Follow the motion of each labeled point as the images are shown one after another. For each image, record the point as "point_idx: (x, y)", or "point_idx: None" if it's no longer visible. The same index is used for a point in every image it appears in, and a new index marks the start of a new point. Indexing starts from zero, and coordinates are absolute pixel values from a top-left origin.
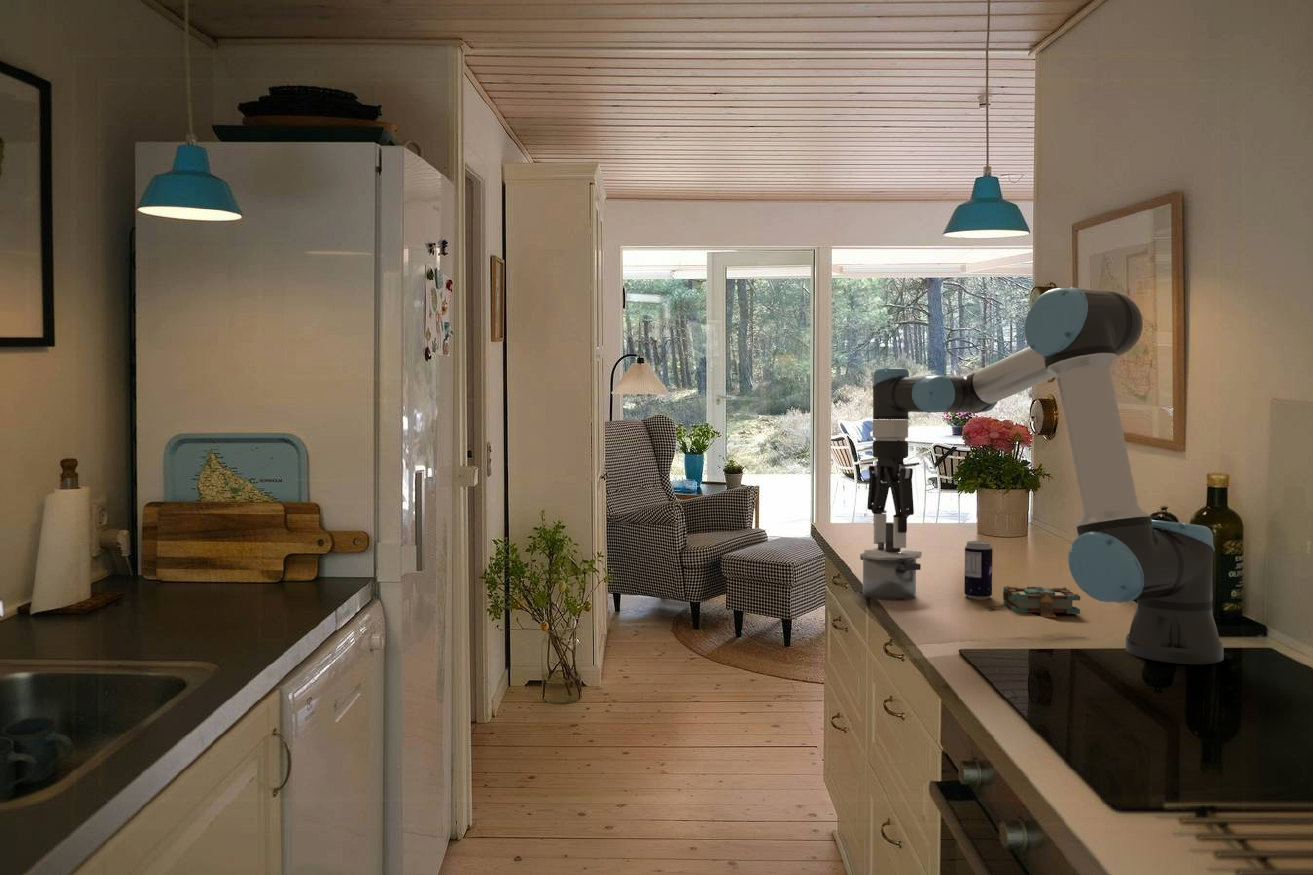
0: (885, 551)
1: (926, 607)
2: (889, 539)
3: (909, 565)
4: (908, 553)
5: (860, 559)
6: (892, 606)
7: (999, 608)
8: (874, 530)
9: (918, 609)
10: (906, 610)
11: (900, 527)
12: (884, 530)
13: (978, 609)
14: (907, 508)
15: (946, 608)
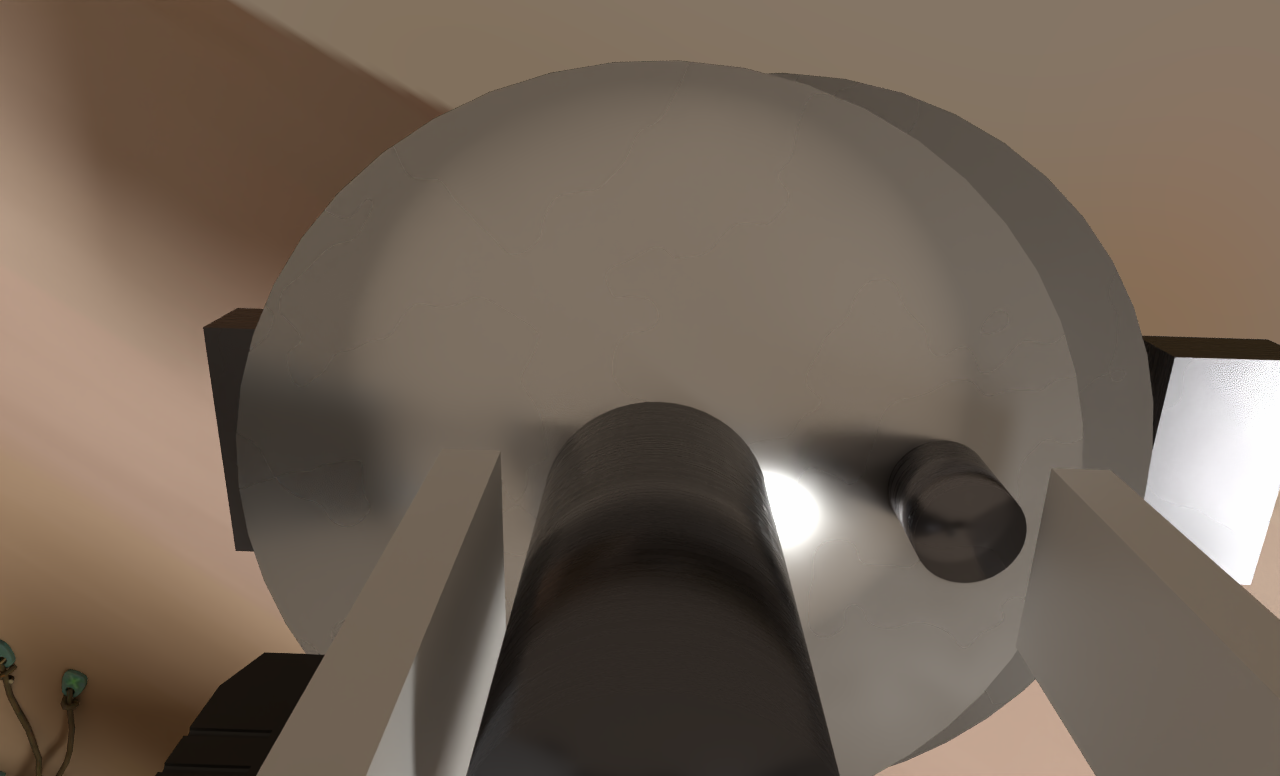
0: (651, 378)
1: (179, 317)
2: (588, 501)
3: (218, 399)
4: (360, 557)
5: (1265, 340)
6: (276, 67)
7: (23, 725)
8: (1221, 595)
9: (107, 203)
10: (78, 75)
11: (229, 740)
12: (1123, 774)
13: (45, 607)
14: None
15: (114, 432)
